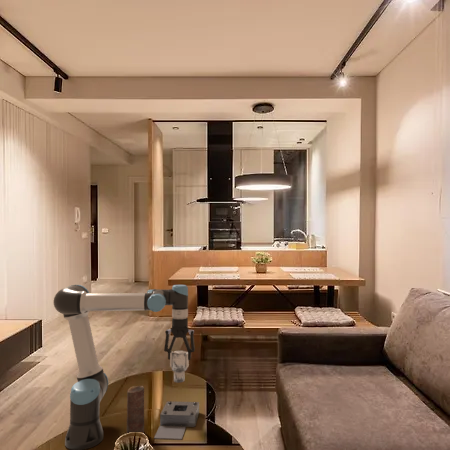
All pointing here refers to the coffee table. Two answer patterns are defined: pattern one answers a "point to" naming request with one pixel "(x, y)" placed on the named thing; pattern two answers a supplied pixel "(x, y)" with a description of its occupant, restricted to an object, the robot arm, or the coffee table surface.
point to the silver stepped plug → (179, 365)
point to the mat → (170, 432)
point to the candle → (135, 409)
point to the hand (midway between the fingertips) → (179, 366)
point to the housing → (179, 414)
